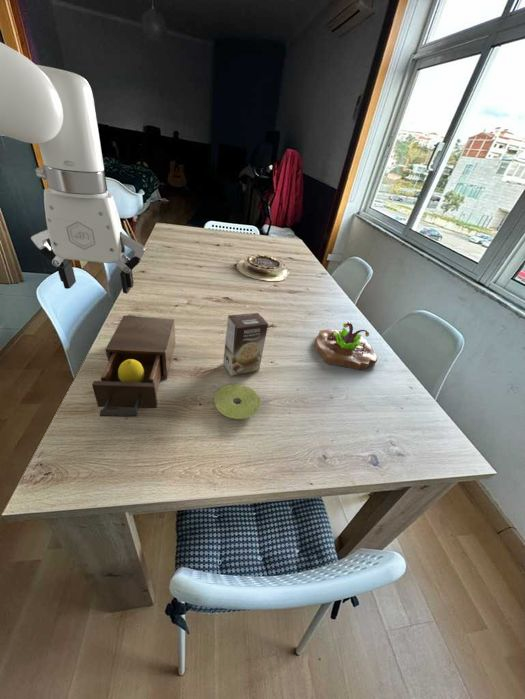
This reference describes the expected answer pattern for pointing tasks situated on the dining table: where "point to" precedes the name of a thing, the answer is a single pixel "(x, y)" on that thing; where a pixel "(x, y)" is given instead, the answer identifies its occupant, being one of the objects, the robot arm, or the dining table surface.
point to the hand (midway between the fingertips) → (99, 287)
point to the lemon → (131, 371)
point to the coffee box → (244, 343)
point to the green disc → (237, 401)
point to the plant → (345, 348)
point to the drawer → (128, 386)
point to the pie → (263, 267)
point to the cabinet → (144, 338)
